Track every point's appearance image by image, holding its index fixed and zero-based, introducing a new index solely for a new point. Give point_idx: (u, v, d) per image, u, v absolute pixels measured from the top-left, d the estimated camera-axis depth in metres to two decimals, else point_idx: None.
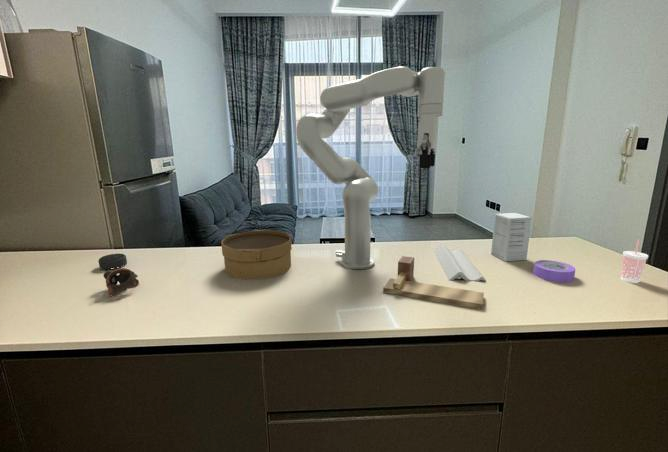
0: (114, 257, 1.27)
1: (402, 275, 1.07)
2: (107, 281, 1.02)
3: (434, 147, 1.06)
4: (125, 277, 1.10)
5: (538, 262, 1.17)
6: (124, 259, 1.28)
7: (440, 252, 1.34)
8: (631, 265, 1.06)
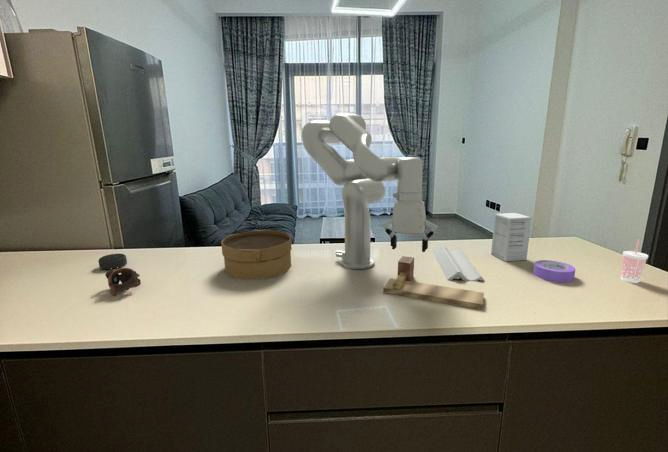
0: (114, 257, 1.27)
1: (402, 275, 1.07)
2: (109, 280, 1.02)
3: None
4: (127, 276, 1.10)
5: (538, 262, 1.17)
6: (124, 259, 1.28)
7: (439, 252, 1.34)
8: (631, 265, 1.06)
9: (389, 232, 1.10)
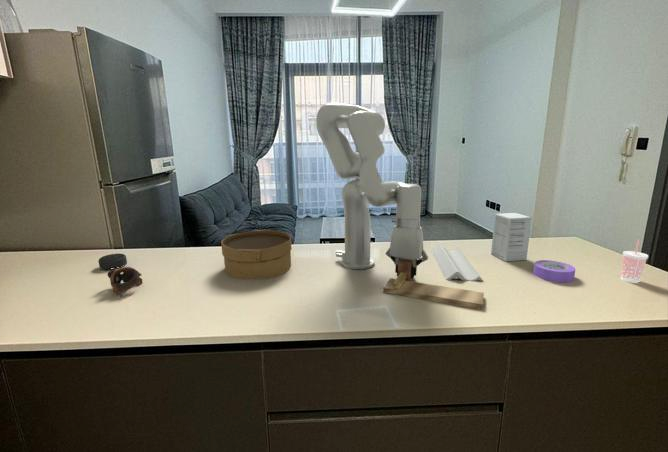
0: (114, 257, 1.27)
1: (402, 275, 1.07)
2: (111, 280, 1.03)
3: None
4: (129, 276, 1.11)
5: (538, 262, 1.17)
6: (124, 259, 1.28)
7: (438, 252, 1.34)
8: (631, 265, 1.06)
9: (393, 260, 1.12)
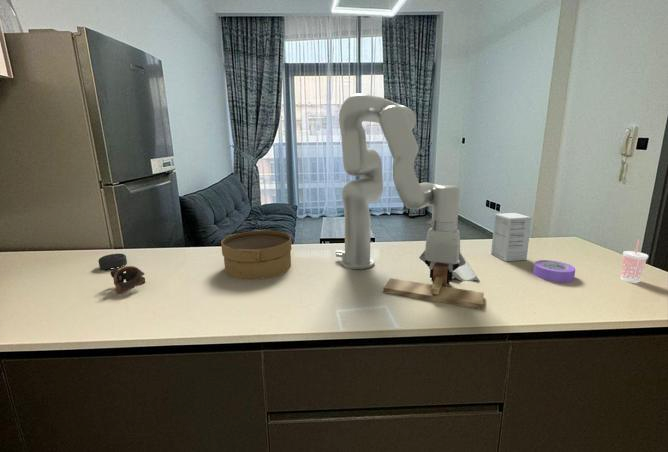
0: (114, 257, 1.27)
1: (439, 280, 1.02)
2: (115, 279, 1.03)
3: None
4: (131, 275, 1.11)
5: (538, 262, 1.17)
6: (124, 259, 1.28)
7: None
8: (631, 265, 1.06)
9: (427, 265, 1.07)
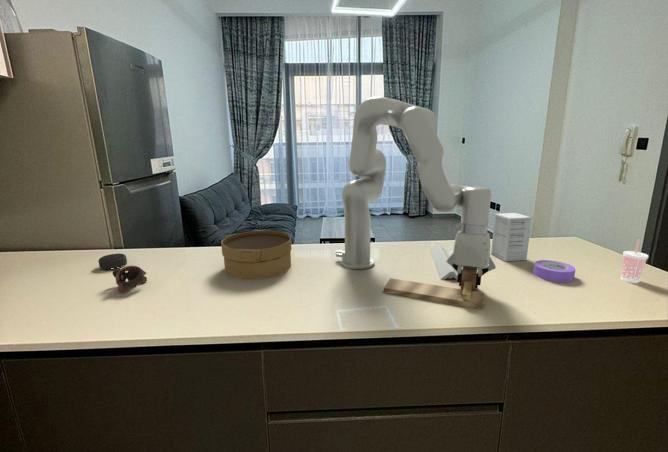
0: (114, 257, 1.27)
1: (468, 284, 0.99)
2: (117, 278, 1.04)
3: None
4: (133, 274, 1.12)
5: (538, 262, 1.17)
6: (124, 259, 1.28)
7: (435, 252, 1.35)
8: (631, 265, 1.06)
9: (455, 269, 1.04)
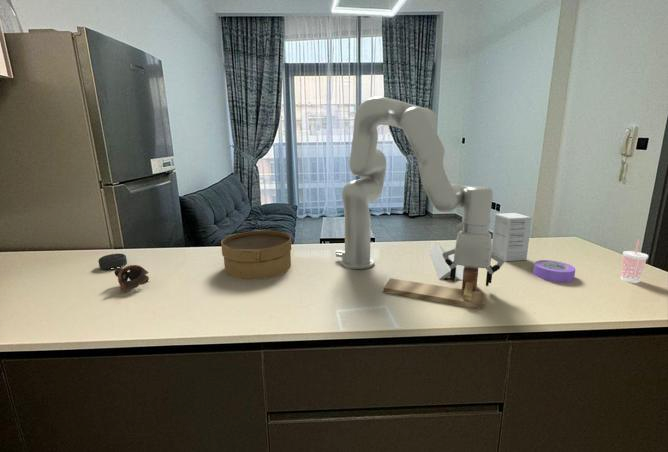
0: (114, 257, 1.27)
1: (469, 285, 0.99)
2: (119, 277, 1.04)
3: None
4: (135, 274, 1.12)
5: (538, 262, 1.17)
6: (124, 259, 1.28)
7: (434, 252, 1.35)
8: (631, 265, 1.06)
9: (449, 263, 1.04)
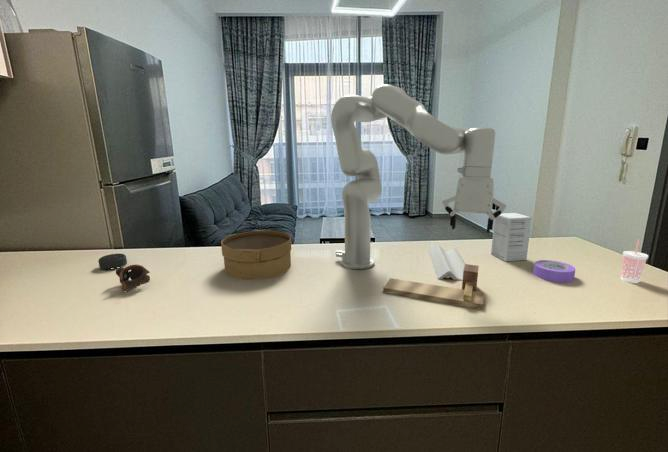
0: (114, 257, 1.27)
1: (469, 285, 0.99)
2: (121, 277, 1.05)
3: None
4: (136, 273, 1.13)
5: (538, 262, 1.17)
6: (124, 259, 1.28)
7: (434, 251, 1.35)
8: (631, 265, 1.06)
9: (449, 210, 1.01)
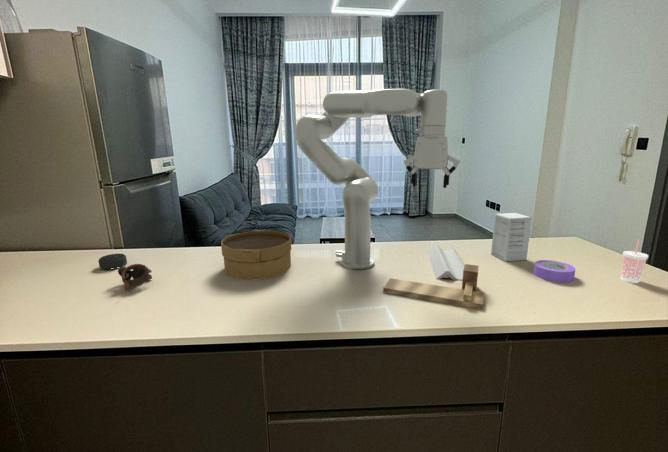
0: (114, 257, 1.27)
1: (469, 285, 0.99)
2: (123, 276, 1.05)
3: None
4: (138, 273, 1.13)
5: (538, 262, 1.17)
6: (124, 259, 1.28)
7: (432, 251, 1.35)
8: (631, 265, 1.06)
9: (410, 169, 1.10)
